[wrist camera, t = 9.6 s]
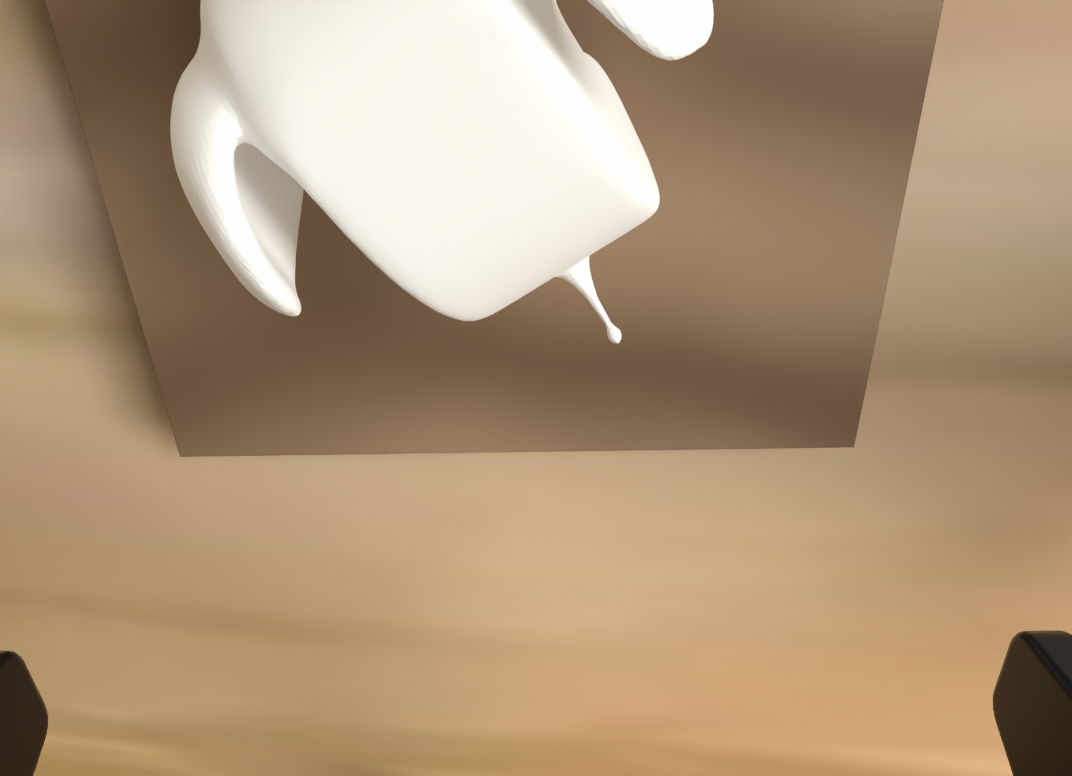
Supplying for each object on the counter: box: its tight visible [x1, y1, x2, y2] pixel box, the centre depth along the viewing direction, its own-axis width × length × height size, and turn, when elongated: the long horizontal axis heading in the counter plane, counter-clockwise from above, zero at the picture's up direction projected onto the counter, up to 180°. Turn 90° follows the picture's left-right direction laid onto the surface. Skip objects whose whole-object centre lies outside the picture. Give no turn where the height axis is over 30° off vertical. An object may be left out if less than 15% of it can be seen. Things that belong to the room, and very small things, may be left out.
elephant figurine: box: [170, 0, 714, 343], centre depth 12 cm, size 7×8×6 cm
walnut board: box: [45, 0, 944, 457], centre depth 15 cm, size 16×14×2 cm
